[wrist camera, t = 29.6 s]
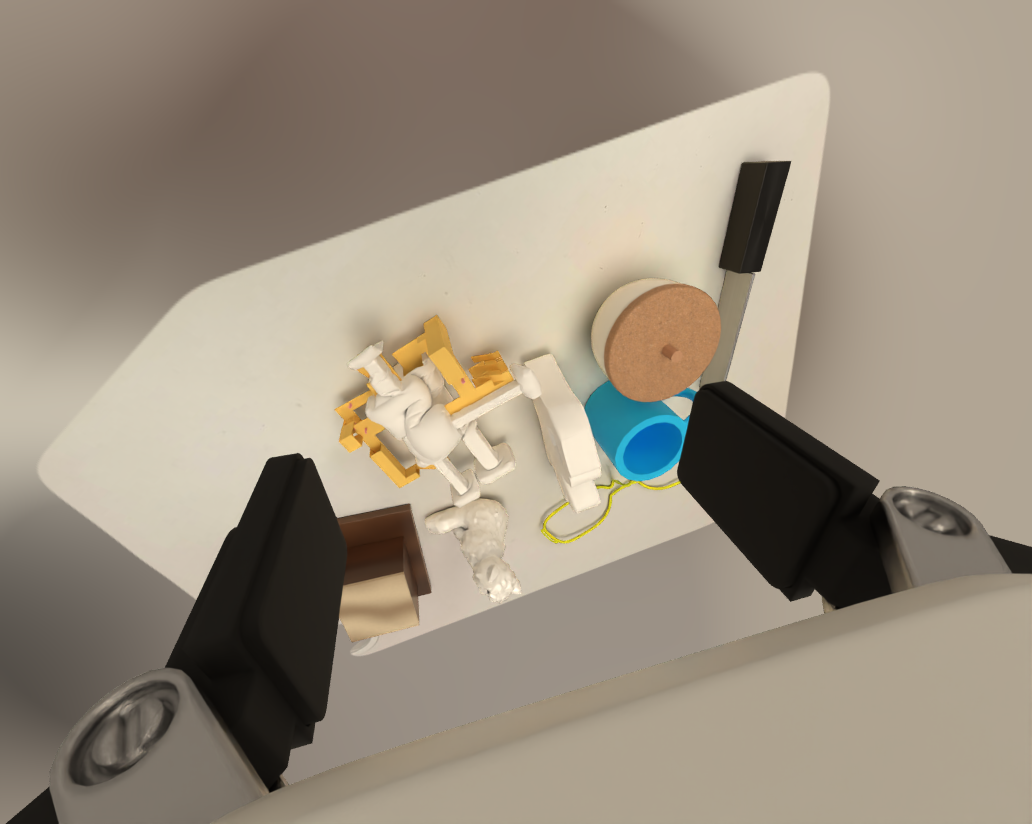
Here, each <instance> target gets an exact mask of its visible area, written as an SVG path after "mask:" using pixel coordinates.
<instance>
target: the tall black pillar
mask: <svg viewBox="0 0 1032 824" xmlns="http://www.w3.org/2000/svg"><path fill="white" fill-rule="evenodd" d="M790 164H791V161H761V162H744V163H742V166H741V170H740V175H739V179H738V184H737V188H736V193H735V197H734V202H733V206H732V211H731V215H730V220H729V224H728V229H727V233H726V237H725V242H724V246H723V251H722V255H721V260H720V264H719V268H722V269H726V270H727V271H726V276H725V280H724V284H723V288H722V293H721V297H720V301H719V305H718V311H719V314H720V319H721V333H720V339H719V343H718V347H717V349H716V352H715V354H714V356H713V358H712V360H711V362H710V364H709V365H708V366H707V368H706V369H705V371H704V372H703V374H702V378H701V382H700V386H699V387H700V388H701V387H702V386H703V385H705V384H709V383H715V382H721V381H726V379H727V375H728V372H729V368H730V364H731V361H732V357H733V353H734V350H735V346H736V342H737V339H738V335H739V331H740V328H741V324H742V321H743V317H744V313H745V310H746V306H747V302H748V299H749V295H750V291H751V288H752V284H753V280H754V277H755V274H753V273H752V272H760V271H761V268H762V265H763V261H764V258H765V254H766V250H767V247H768V243H769V240H770V236H771V232H772V229H773V225H774V222H775V218H776V215H777V211H778V207H779V204H780V200H781V197H782V193H783V190H784V186H785V182H786V179H787V175H788V172H789V168H790Z"/></svg>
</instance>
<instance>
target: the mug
mask: <svg viewBox="0 0 1032 824" xmlns="http://www.w3.org/2000/svg"><path fill="white" fill-rule="evenodd" d="M696 393H697V392H696V391H694V390H692V389H689V388H686V389H685V390H683V391H681V392H680V393H678V394H676V395H674V396H679V397H685V398H688V399H690V400H692V401H693V400H694V396H695V394H696ZM585 413H586V415H587V417H588V420H589V424H590V427H591V430H592V434H593V437H594V438H595V439H596V441H597V442H598V444H599V445H600V446H601V448H602V449H603V451H604V452H605V453H606V455H607V456H608V458H609V459H610V460H611V462H612V463H613V465H614V466H615V467H616V469H617V470H618V472H619V473H620V474H621V475H622V476H623V477H625V478H627V479H628V480H634V481H644V480H650V479H653V478H655V477H658V476H660V475H662V474H664V473H665V472H667V471H668V470H670V469H671V468H672V467H673V466H674V465H675V464H677V463H678V462H679V460H680V456H681V452H682V448H683V443H684V439H685V435H686V430H687V426H688V422H689V417H690V415H689V416H688V417H687V418H686V419H685V420H682V419H681V418H680V417H679V416H678V415H677V414H676V413H674V412H673V411H672V410H671V409H670V408H669V407H668V406H667V405H665V404H664V403H663V402H662V401H661V400H660V401H655V402H639V401H634V400H631V399H629V398H627V397H625V396H624V395H622V394H621V393H620V392H619V391H618V390H617V389H616V388H615V387H614V386H613V384H612V383H611V382H610V381H607V382H606V383H604V384H603V385H601V386H600V387H598V388H597V389H596V390H595V391H594V393H593V394H592V395H591V396H590V398H589V399H588V401H587V403H586V405H585Z"/></svg>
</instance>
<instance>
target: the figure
mask: <svg viewBox="0 0 1032 824" xmlns="http://www.w3.org/2000/svg"><path fill="white" fill-rule="evenodd" d="M424 329H425V333H423V334H422V335H420V336H419V337H417V338H416V339H414V340H413V341H411V342H410V343H408V344H407V345H405V346H403V347H402V348H400V349H399V350H397V351H396V352H394V353H393V354H392V355H393V356H394V358H395V359H396V360H397V361H398V362H399V363H398V364H396V365H395V366H394V367H393V368H392V367H391V365H390V364H389V363H388V362H387V361H386V359H385V358H384V357H383V356H382V354H381V353H382V352H383V344H384V342H383V341H380V342H378V343H377V344H375V345H374V346H372V345H370V346H368V347H367V348H366V349H365V350H364V351H362V352H361V353H360V354H358V355H357V356H356V357H354V358H353V359H352V360H350V361H349V362H348V363H347V366H348V367H349V368H350V369H353V370H358V371H359V372H360V373H361V374H363V375H365V376H366V377H368V378H369V381H370V382H369V383H367V384H366V385H367V386H368V388H369V389H370V390H369V391H367V392H365V393H363V394H362V395H360V396H358V397H356V398H354V399H352V400H351V401H349V402H347V403H345V404H343V405H342V406H340V407H338V408H336V409H335V411H336V412H337V413H338V414H339V415H340V416H341V417H342V418H343V419H344V423H343V427H342V429H341V434H340V438H339V442H340V443H341V444H342V445H343V446H344V447H345V448H346V449H347V450H348V451H349V452H352V451H354V450H356V449H358V448H359V447H361V446H362V442H363V441H364V442H365V443H366V444H367V445H368V446H369V447H370V458H371V459H372V460H373V461H374V462H375V463H376V464H377V465H378V466H379V467H380V468H381V469H382V470H383V471H384V472H385V473H386V474H387V476H388V477H389V478H390V479H391V480H392V481H393V482H394V483H395V484H396V485H397V486H398V487H399V488H401V487H402V486H404V485H406V484H408V483H410V482H412V481H413V480H415V479H417V478H419V477H420V472H419V469H436V468H437V469H438V470H439V471H440V472H441V473H442V474H443V475H444V476H445V478H446V479H447V480H448V481H449V482H450V487H451V495H452V501H453V504H454V505H455V506H457V507H459V508H461V507H463V506H464V505H466V504H468V503H470V502H471V501H473V500H475V499H477V498H479V497H480V487H479V483H478V481H479V482H480V483H482V484H484V485H487V484H490V483H492V482H493V481H495V480H497V479H498V478H500V477H502V476H503V475H505V474H507V473H509V472H511V471H512V470H514V469H515V468H516V462H515V458H514V455H513V452H512V449H511V447H510V446H509V445H508V444H506V443H501V444H498V445H496V446H493V447H491V445H490V444H489V443H488V441H487V440H486V439H485V437H484V436H483V435H482V433H481V432H480V430H479V429H478V427H477V419H478V417H480V416H481V415H483V414H485V413H487V412H488V411H490V410H492V409H494V408H496V407H498V406H500V405H501V404H503V403H505V402H507V401H509V400H511V399H513V398H515V397H517V396H519V395H520V394H521V393H523V395H524V396H526V397H528V398H531V399H536V398H537V397H539V396H540V395H542V390H541V385H540V383H539V380H538V378H537V377H536V375H535V373H534V372H533V371H532V370H531V369H530V368H528V367H525V366H522V365H517V364H515V363H513V364H511V365H510V370H511V372H512V374H513V375H514V377H515V380H513V377H512V376H511V374H510V372H509V371H508V368H507V366H506V364H505V363H504V361H503V359H501V358H502V357H501V355H500V354H499V352H498V351H496V352H494V353H490V354H485V355H479V356H473V357H471V358H472V360H473V362H474V363H476V362H480V363H478V364H477V365H475V366H473V367H471V368H470V369H468V370H469V372H470V373H471V375H472V377H473V378H474V379H472V382H473V383H474V385H475V386H476V388H474V386H473V384H472V383H471V381H470V380H469V378H468V376H467V375H466V373H465V372H464V370H463V369H462V367H461V365H460V364H459V362H458V361H457V359H456V357H455V356H454V354H453V351H452V347H451V344H450V340H449V337H448V333H447V329H446V327H445V326H444V324H443V323H442V321H441V320H440V319H439V317H438V316H437V315H436V316H435V317H433V318H432V319H430V320H428V321H427V322H425V323H424ZM499 357H500V358H499ZM497 358H498V359H497ZM495 359H496V360H495ZM499 359H500V360H499ZM497 360H498V361H497ZM501 360H502V361H501ZM483 361H484V362H485V363H484V362H483ZM485 364H486V365H485ZM506 370H507V371H506ZM441 373H442V374H441ZM442 375H443V376H444V378H445V379H446V381H447V382H448V384H449V385H450V384H452V385H453V386H454V388H455V390H456V391H457V393H458V394H459V396H460V397H459V398H457V399H455V400H453V398H452V396H451V395H450V393H449V392H448V390H447V389H446V387H445V386H444V380H443V377H442ZM365 403H366V408H365V414H366V416H367V418H366V419H364V420H361V419H360V418H359V417H358V416H357V414H356V413H355V412H354V411H353V410H354V409H356V408H358V407H360V406H362V405H363V404H365ZM385 429H387V430H388V431H389V432H390V433H391V434H392V435H393V436H394V437H395V438H396V439H398V440H402V439H403V441H404V442H405V444H406V445H407V447H408V448H409V450H410V452H411V453H412V454H413V455H414V456H415V461H416V463H417V464H415V465H413V466H411V467H409V468H408V469H405V468H404V467H403V466H402V465H401V464H400V463H399V461H398V460H397V459H396V458H395V457H394V456H393V455H392V454H391V452H390V451H389V450H388V449H387V448H386V447H385V446H384V445H383V444H382V442H381V441H380V440H379V439H378V438H377V437H376V436H375V435H376V434H377V433H379V432H381V431H383V430H385ZM354 433H357V434H358V435H356V436H353V434H354ZM461 438H462V440H463V442H464V443H465V445H466V446H467V447H468V449H469V450H470V451H471V453H472V454H473V455H474V456H475V457H476V458H475V459H474V469H475V472H476V474H475V473H474V472H473V471H472V470H471V469H468V470H466V471H464V472H463V473H461V474H460V472H459V471H458V470H457V469H456V468H455V467H454V465H453V464H452V463H451V462H450V459H449V458H448V457H447V456H448V455H449V453H450V452H451V451H452V450H453V449H454V448H455V447H456V446H457V444H458V443H459V441H460V440H461ZM477 479H478V480H477Z"/></svg>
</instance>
